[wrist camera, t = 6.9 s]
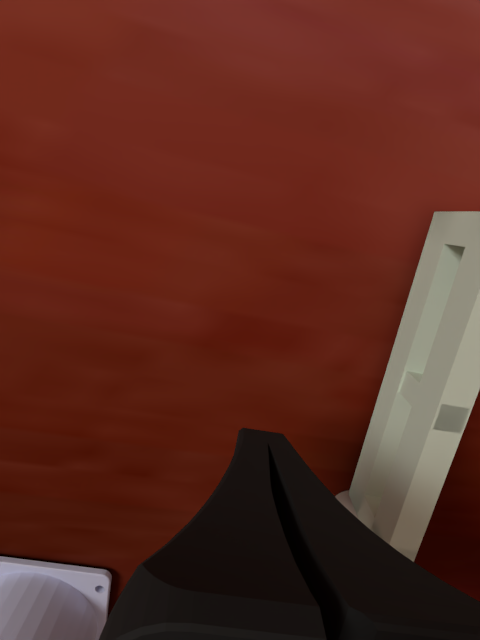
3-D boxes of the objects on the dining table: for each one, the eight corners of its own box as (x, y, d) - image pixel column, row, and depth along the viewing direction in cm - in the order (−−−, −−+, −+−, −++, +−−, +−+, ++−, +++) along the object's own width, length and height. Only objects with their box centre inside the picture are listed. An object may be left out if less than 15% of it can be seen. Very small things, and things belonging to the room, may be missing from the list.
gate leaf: (371, 497, 20) (408, 575, 15) (348, 493, 20) (379, 571, 15) (462, 216, 16) (544, 218, 12) (434, 211, 16) (507, 211, 12)
